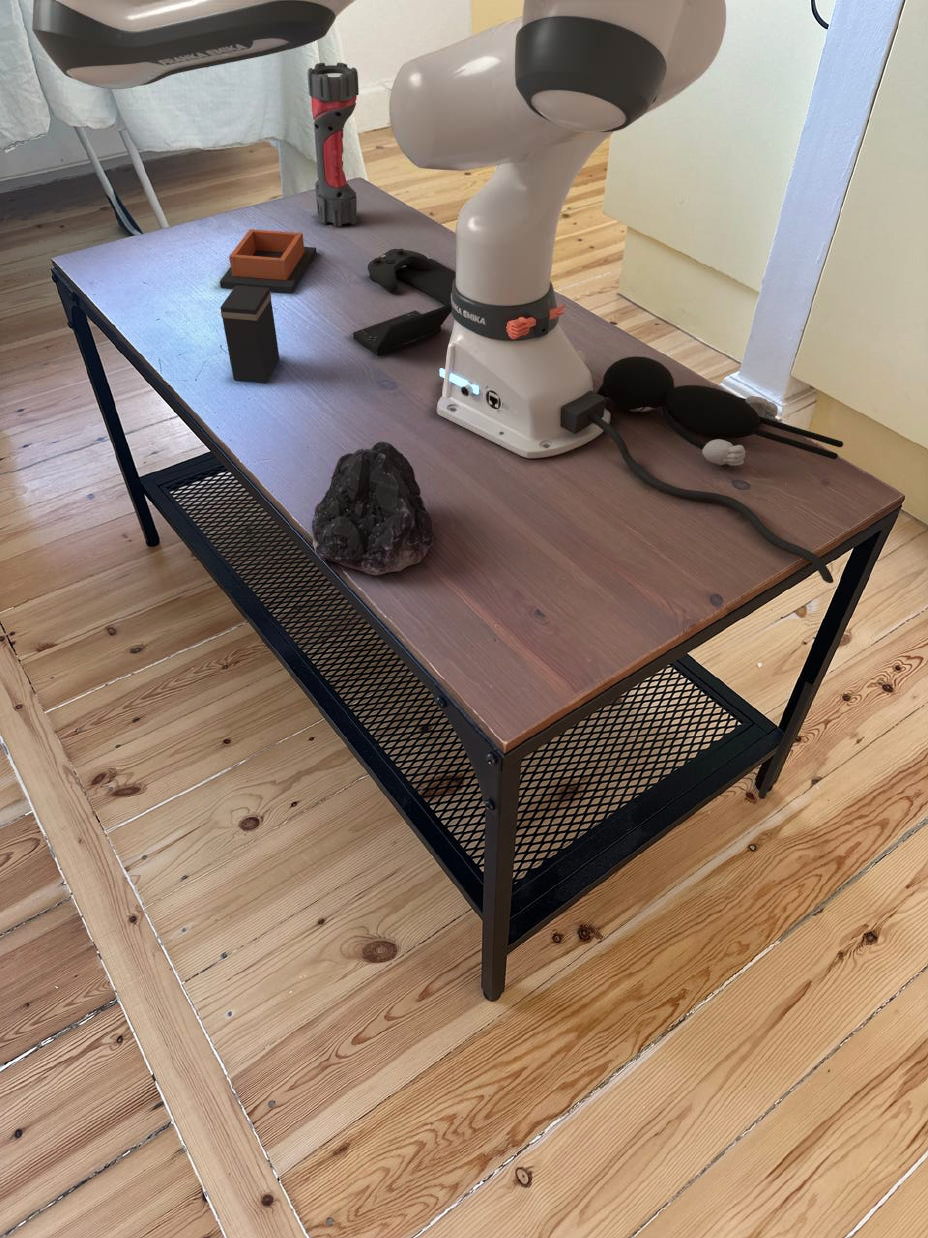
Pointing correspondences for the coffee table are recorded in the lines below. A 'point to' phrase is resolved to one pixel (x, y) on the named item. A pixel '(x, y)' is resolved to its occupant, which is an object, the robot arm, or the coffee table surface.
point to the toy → (700, 410)
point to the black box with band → (250, 333)
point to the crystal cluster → (373, 513)
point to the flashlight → (333, 139)
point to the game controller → (395, 266)
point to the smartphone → (431, 280)
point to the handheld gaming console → (402, 330)
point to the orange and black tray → (269, 261)
